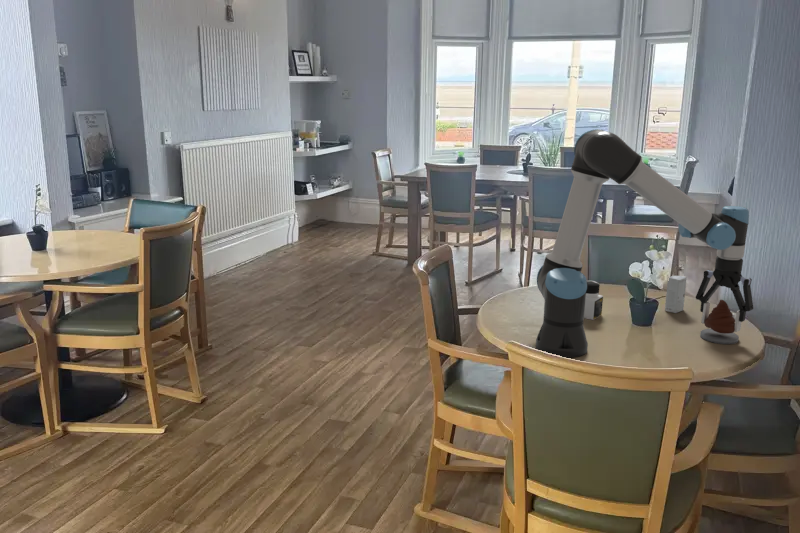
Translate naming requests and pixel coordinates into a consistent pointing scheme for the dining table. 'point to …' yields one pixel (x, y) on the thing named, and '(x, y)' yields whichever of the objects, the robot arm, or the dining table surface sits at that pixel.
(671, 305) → the skincare box
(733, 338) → the coaster
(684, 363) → the dining table surface
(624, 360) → the dining table surface
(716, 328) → the poop emoji
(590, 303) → the medicine bottle
